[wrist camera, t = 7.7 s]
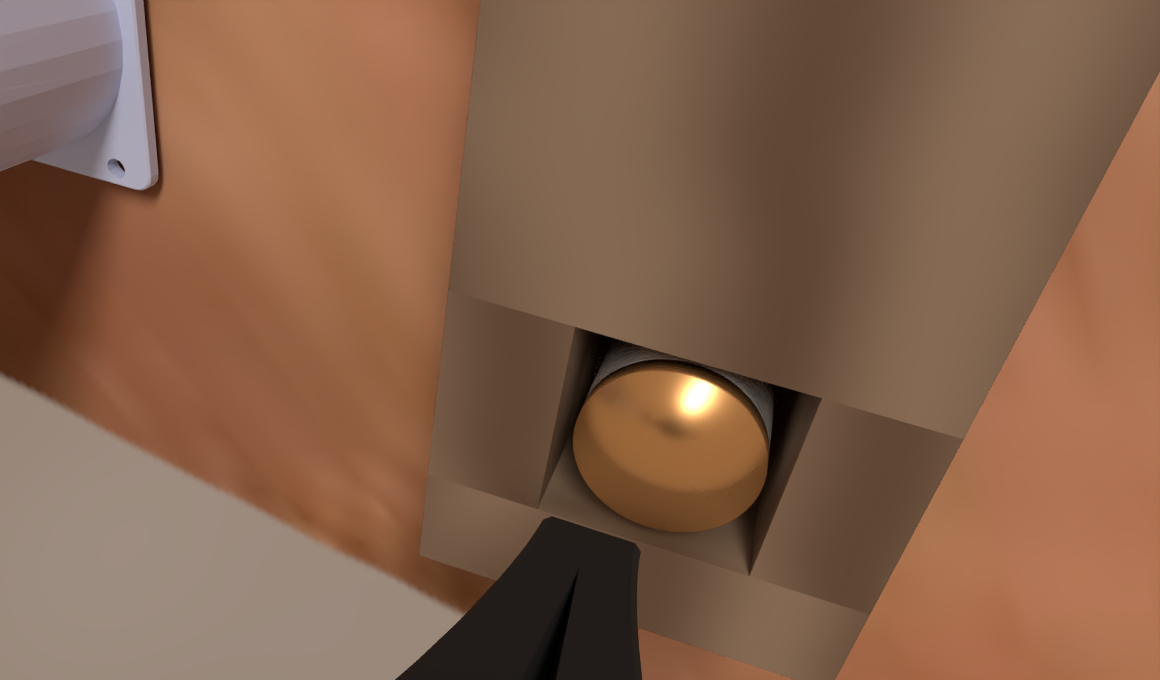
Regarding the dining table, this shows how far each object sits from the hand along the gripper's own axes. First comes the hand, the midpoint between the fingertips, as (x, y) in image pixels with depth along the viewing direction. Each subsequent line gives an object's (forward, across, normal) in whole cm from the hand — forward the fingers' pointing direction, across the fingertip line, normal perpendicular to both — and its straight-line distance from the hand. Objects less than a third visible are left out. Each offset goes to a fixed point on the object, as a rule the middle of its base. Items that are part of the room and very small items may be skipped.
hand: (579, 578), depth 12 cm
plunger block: (+10, -1, -6) cm, 12 cm away
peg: (+10, -1, +2) cm, 10 cm away
